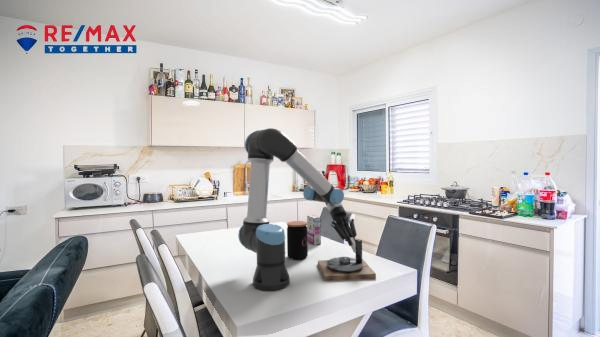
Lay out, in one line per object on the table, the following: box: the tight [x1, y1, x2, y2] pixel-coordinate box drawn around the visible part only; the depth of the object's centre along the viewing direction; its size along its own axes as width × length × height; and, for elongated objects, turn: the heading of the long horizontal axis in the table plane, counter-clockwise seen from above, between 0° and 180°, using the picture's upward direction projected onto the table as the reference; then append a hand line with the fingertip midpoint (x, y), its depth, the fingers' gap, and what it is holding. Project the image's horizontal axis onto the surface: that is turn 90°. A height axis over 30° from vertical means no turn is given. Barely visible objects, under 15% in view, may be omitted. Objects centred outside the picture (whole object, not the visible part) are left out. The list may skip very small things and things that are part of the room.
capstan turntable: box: [327, 239, 363, 273], centre depth 134 cm, size 16×16×12 cm
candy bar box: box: [306, 214, 322, 246], centre depth 183 cm, size 11×5×16 cm, turn 21°
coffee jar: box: [286, 220, 309, 261], centre depth 155 cm, size 11×11×18 cm
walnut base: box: [317, 258, 377, 282], centre depth 134 cm, size 22×20×2 cm
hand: (356, 250), depth 137 cm, fingers closed
